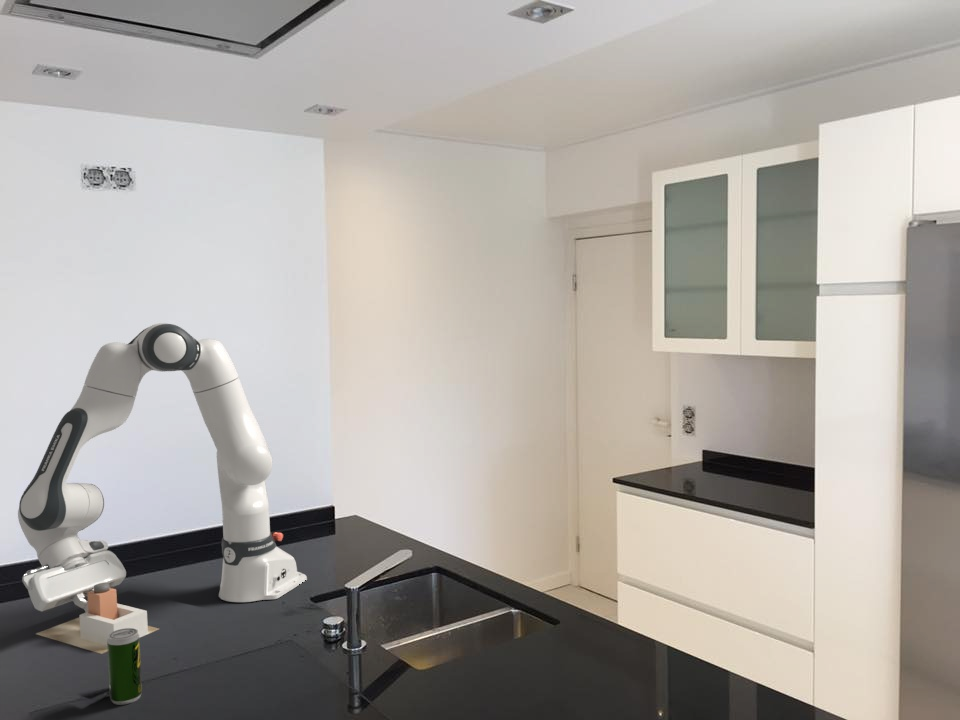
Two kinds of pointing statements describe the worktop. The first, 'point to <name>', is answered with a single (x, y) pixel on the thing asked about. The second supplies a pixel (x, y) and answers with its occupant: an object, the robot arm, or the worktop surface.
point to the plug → (103, 601)
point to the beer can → (124, 666)
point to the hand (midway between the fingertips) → (95, 611)
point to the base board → (76, 636)
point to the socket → (112, 624)
